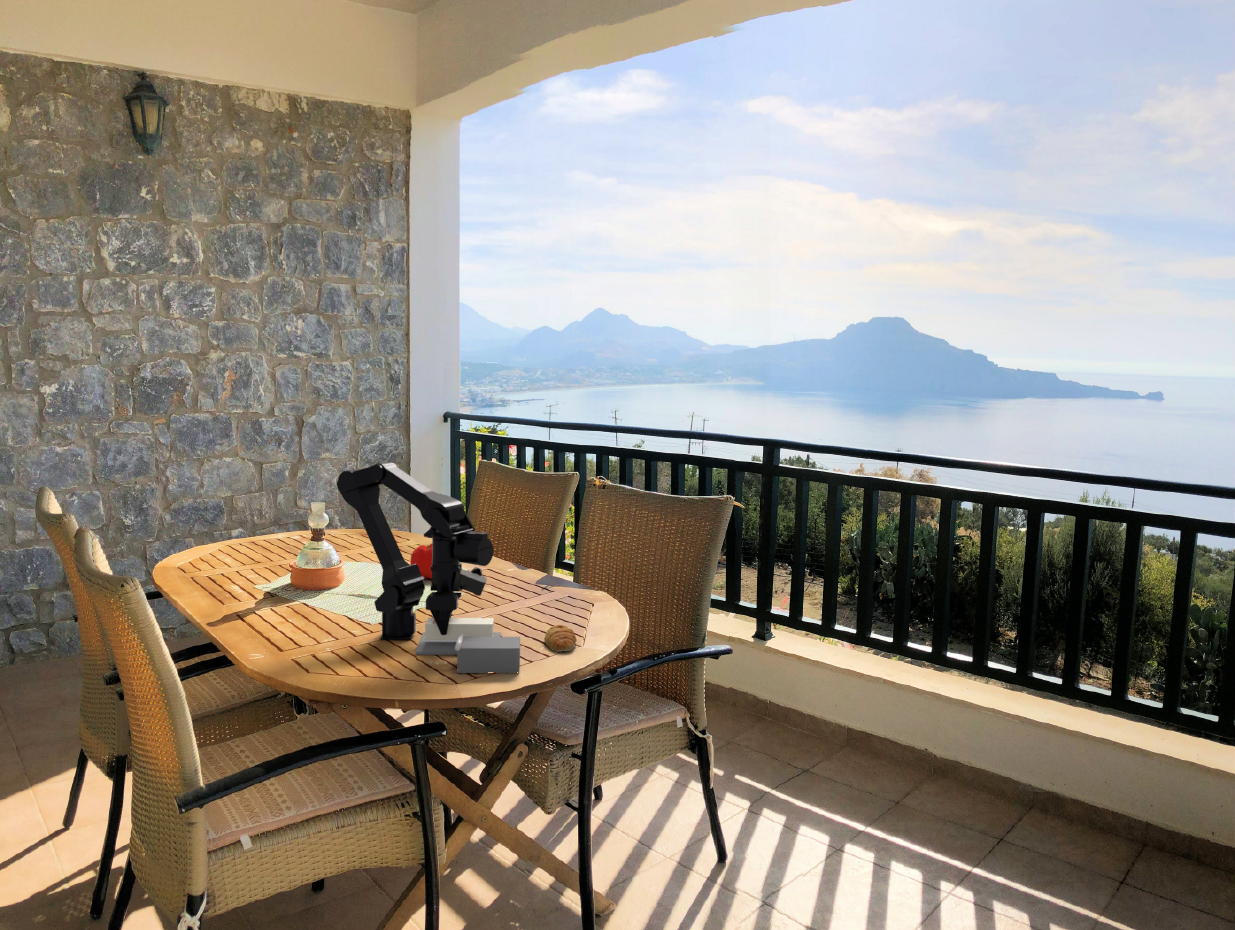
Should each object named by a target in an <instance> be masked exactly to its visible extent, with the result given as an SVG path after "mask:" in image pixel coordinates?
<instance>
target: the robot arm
mask: <svg viewBox="0 0 1235 930" xmlns="http://www.w3.org/2000/svg"><path fill="white" fill-rule="evenodd" d="M380 485H384V486H385V487H386V488H388V489H390V490H391V491H393V493H395V494H396V495H397V496H399V497H400V498H402V499H403V500H405V501H407V502H408V503H410V504H411V505H412V506H413V507H414V508H416V509H417V510H418V511H419V513H420V516H421V517H422V519H423V520H424V521H425V522H426V523H427V524H428V525H429V526H430V527H429V529H428V530H426V532H425V533H423V537H424V538H430V539H432V540H431V541H432V542H431V543H432V565H431V572H432V579H431V584H430V591H431V593H430V594H428V595H427V597H426V599H425V610H426V611H430V613H431V615H432V618H434V620H435V622H436V624H437V626H438V629H439V631H440V633H441V635H446V634H447V630H448V625H449V620H450V618H452V614H453V612H454V611H457V609H458V606H459V599H460V598H461V597H462V595H463V594H462V592H460V591H466V592H468V593H472V594H473V595H474V596H477V597H480V596H482V593H483V591H484V588H485V586H486V583H487V580H488V579H487V577H486V576H485V575H483V569H482V568H481V567H486V566H488V565H490V563H491V561H492V559H493V556H494V551H495V550H494V549H495V548H494V545H493V542H492V540H491V539H490V538H489V535H488V532H486V531H485V532H484V531H482V532H477V531H476V528H475V527H474V525H473V524H472V522H471V520H470V517H468V515H467V513H466V511H465V506H464V504H463V502H461V501H460V500H458V499H456V498H455V497H452V496H449V495H447V494H444V493H443V494H442V493H438V492H435V491H433V490H432V489H430V488H428V487H427V486H426V485H424V484H423V483H421V482H419V480H417V479H415V478H413V477H412V476H411V475H410V474H408V473H407V472H405V471H404V470H402V469H401V468H399V467H398V466H397V464H396V463H394V462H391V461H385V462H378V463H375V464H374V465H371V466H368V467H365V468H358V469H357V468H355V469H349V470H344V471H342V472H340V474H339V475H338V478H337V481H336V487H337V490H338V492H339V494H340V495H341V497H342V498H343V500H344V502H345V503H346V504H348V505H349V506H350V507H352V508H353V509H354V510H355V511H356V512H357V514H358V517H359V518H360V521H361V523H362V525H363V527H364V530H365V533H366V534H367V537H368V538H369V541H370V543H371V546H372V548H373V551H374V552H375V555H376V557H377V560H378V561H379V564H380V566H381V569H382V573H381V574H382V577H381V587H382V590H383V592H382V593H381V594H380V595H379V596H378V598H376V599H375V600H374V606H375V610H376V612H380V613H381V617H382V618H381V635H380V636H379V637H380V638H379V639H380V640H411V639H412V637H413V636H414V635H415V633H416V629H417V625H416V624H417V621H416V620H417V619H416V617H417V616H416V615H417V614H416V612H414V607H417V606H419V604H420V602H421V599H422V597H423V596H424V593H425V590H426V586H425V583H424V582H425V580H426V579H424V578H423V577H422V575H421V573H420V570H419V567H418V565H417V564H413V565H411V564H410V563H408V561H406V559H404V556H403V554H402V552H401V549H400V548H399V545H398V542H397V541H396V539H395V537H394V534H393V531H392V529H391V527H390V525H389V523H388V520H387V518H386V516H385V514H384V511H383V509H382V507H381V505H380V493H381V488H380ZM463 564H469V565H473V566H474V567H473V568H472V569H471V570H469V569H467V570H466V569H463ZM478 566H481V567H478Z"/></svg>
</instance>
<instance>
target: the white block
mask: <svg viewBox="0 0 1235 930" xmlns="http://www.w3.org/2000/svg"><path fill="white" fill-rule="evenodd" d="M494 622H495V619H494V617H451V618H450V620H449V625H448V630H447V634H446V635H441V633H440V631H439V629H438V626H437V624H436V622H435V620H434V617H427V619H426V621H425V625H424V626H425V627H424V630H425V640H457V639H458V635H459V634H462V635H463V637H493V632H494V629H495V627H494V626H495V625H494V624H495V623H494Z"/></svg>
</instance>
